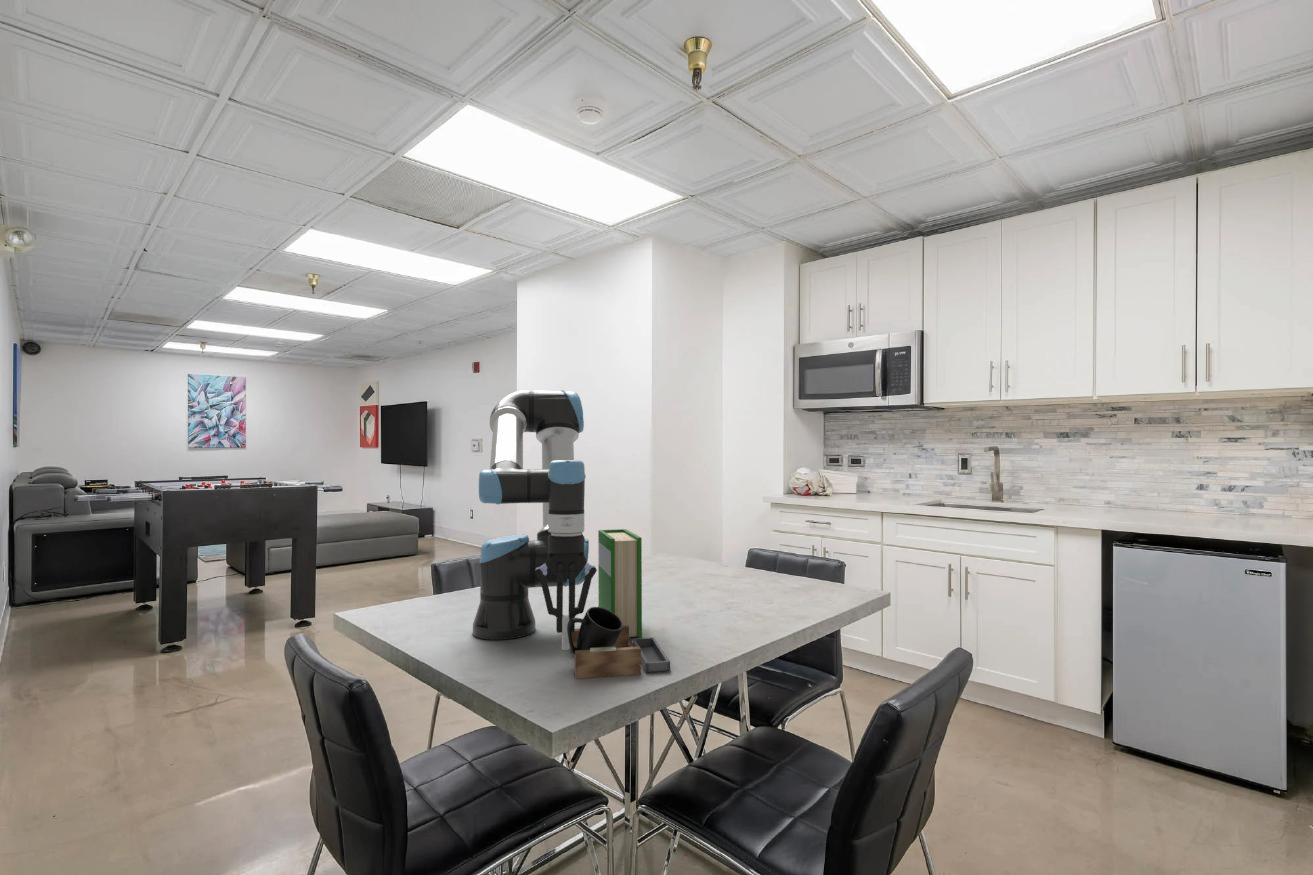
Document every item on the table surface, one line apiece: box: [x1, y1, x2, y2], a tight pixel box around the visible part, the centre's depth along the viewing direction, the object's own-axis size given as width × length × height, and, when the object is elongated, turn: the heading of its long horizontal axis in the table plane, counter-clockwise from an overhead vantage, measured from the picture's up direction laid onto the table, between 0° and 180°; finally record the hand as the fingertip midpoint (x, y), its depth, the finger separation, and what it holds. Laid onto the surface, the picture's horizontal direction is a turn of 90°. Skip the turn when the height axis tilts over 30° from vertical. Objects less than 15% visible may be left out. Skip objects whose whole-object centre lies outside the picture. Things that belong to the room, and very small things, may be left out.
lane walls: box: [569, 626, 642, 680], centre depth 132 cm, size 13×17×5 cm
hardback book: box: [597, 528, 643, 639], centre depth 156 cm, size 18×7×24 cm, turn 15°
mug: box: [567, 606, 623, 656], centre depth 129 cm, size 8×12×10 cm
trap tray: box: [631, 637, 671, 674], centre depth 133 cm, size 5×17×2 cm, turn 11°
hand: (565, 647), depth 130 cm, fingers closed
